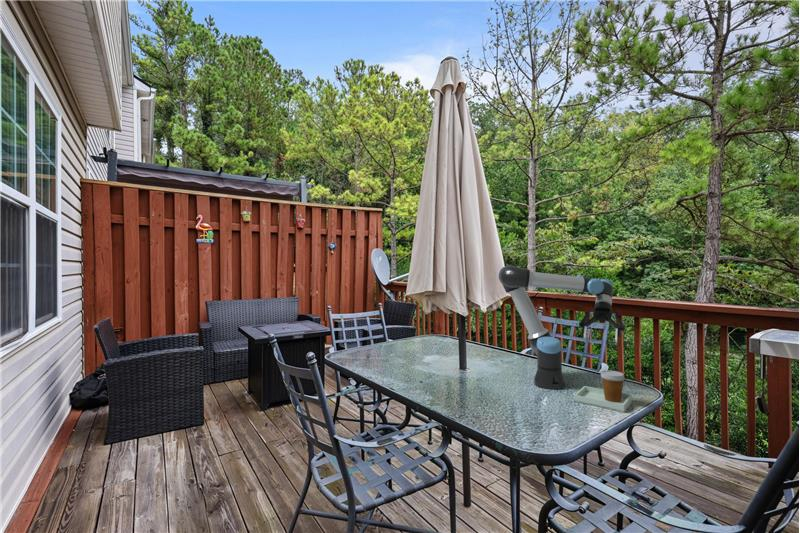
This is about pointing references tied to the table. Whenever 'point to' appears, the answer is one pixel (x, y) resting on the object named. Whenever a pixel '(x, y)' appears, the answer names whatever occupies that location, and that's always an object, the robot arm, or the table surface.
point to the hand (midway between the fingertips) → (600, 340)
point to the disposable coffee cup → (612, 385)
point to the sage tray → (601, 399)
